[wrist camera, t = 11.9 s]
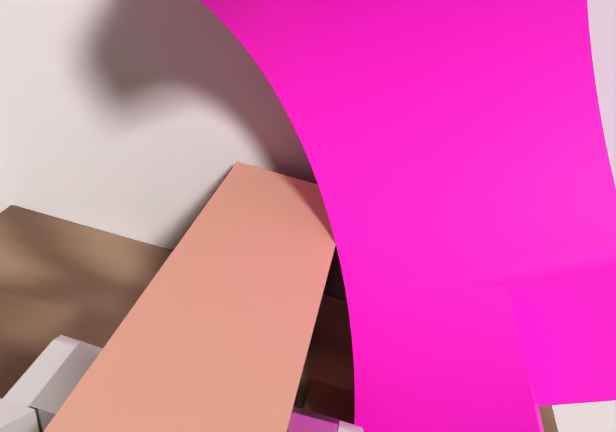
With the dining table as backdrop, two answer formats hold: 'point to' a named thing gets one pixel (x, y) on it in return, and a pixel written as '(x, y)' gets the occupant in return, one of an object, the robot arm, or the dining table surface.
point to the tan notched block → (217, 319)
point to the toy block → (455, 198)
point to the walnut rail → (130, 305)
